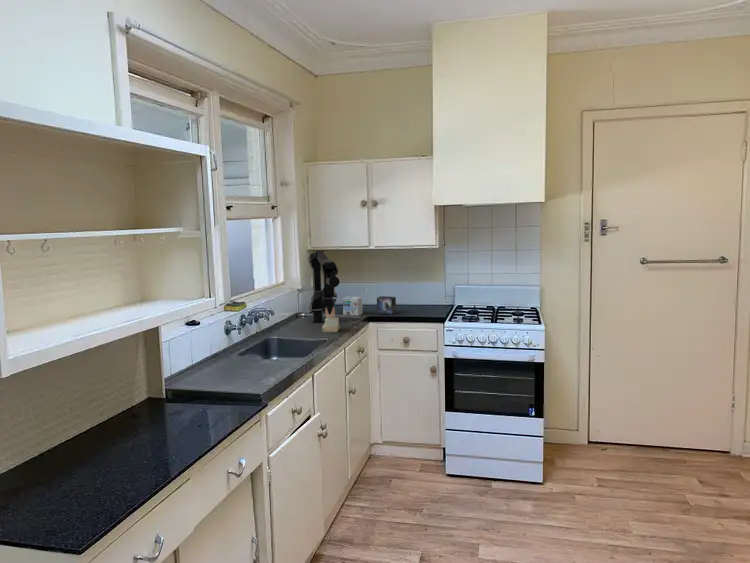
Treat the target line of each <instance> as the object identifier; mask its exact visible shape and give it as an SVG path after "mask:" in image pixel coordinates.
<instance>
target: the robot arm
mask: <svg viewBox="0 0 750 563" xmlns="http://www.w3.org/2000/svg"><path fill="white" fill-rule="evenodd" d="M307 259H308V263H309V267H310V268H311V270H312V286H313V290H312V291H313V295H312V296H311V299H310V304H309V307H308V309H309V312H310V313H312V320H311V323H323V322H325V318H323V317H324V316H323V315H324V314H323V312H326V311H325V309H326V307H327V310H328V313H329V314H331V312H332V309H333V307H335V304H336V302H337V298H338V293H337V292H336V290H335V288H336V287H338V286H339V285H340V279H339V277H338V276H336V275H339V269H338V267H337V265H336V263H335V261H333V260H331V259H329V258H328V257H327V255H326V253H325V251H324V250H321V249H320V250H315V251H314V252H312V253H310V254H309V255H308V258H307ZM322 276H323V288H322V278H321V277H322Z"/></svg>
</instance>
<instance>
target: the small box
mask: <svg viewBox="0 0 750 563" xmlns="http://www.w3.org/2000/svg"><path fill="white" fill-rule="evenodd" d="M396 302H397V300H396V296H387V295H386V296H384V295H380V296H377V297H376V309H377V310H376V313H377V315H388V316H389V315H390V316H393V315H395V314H397V305H396V304H397V303H396Z"/></svg>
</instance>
